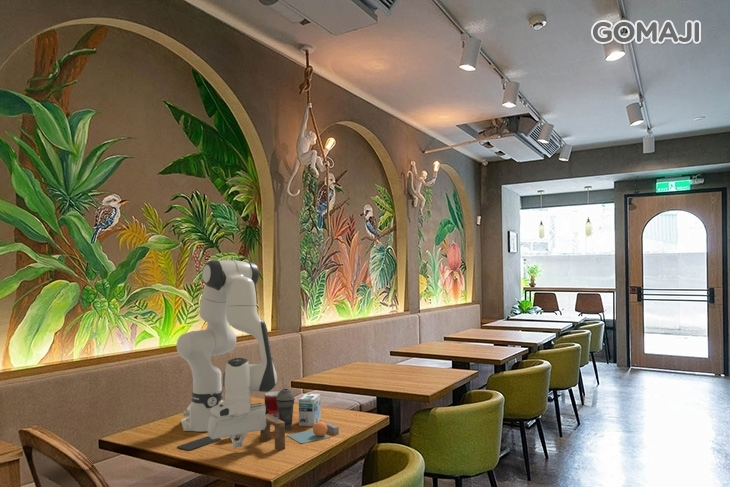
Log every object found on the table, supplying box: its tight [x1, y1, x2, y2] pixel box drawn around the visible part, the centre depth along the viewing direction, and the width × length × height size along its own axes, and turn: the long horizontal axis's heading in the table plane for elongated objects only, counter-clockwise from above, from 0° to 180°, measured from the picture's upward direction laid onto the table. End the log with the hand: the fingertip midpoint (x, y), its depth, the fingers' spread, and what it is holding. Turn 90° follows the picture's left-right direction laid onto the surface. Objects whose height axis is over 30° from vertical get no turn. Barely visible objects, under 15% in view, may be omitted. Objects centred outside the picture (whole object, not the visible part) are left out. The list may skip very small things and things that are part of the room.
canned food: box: [264, 390, 281, 419], centre depth 223 cm, size 8×8×11 cm
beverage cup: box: [276, 377, 295, 432], centre depth 209 cm, size 7×7×20 cm
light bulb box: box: [298, 393, 322, 427], centre depth 218 cm, size 11×7×11 cm, turn 170°
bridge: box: [259, 414, 286, 451], centre depth 191 cm, size 3×14×9 cm, turn 34°
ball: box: [312, 420, 328, 437], centre depth 199 cm, size 5×5×5 cm
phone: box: [176, 435, 222, 452], centre depth 193 cm, size 7×1×15 cm
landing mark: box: [286, 429, 331, 445], centre depth 199 cm, size 12×12×1 cm
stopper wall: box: [324, 422, 340, 436], centre depth 205 cm, size 8×2×2 cm, turn 34°
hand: (237, 446), depth 183 cm, fingers closed
